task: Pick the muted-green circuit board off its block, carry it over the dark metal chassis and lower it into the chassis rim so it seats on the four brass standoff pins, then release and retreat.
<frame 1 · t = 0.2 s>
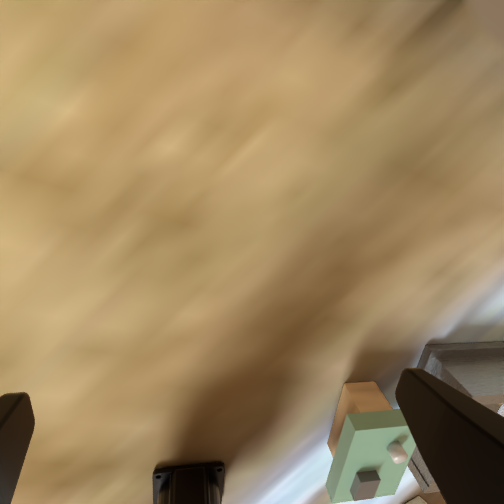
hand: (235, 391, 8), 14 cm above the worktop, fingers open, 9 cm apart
chassis: (451, 397, 33), on the worktop
block: (349, 413, 32), on the worktop
board: (367, 448, 28), point 3 cm above the worktop, touching block
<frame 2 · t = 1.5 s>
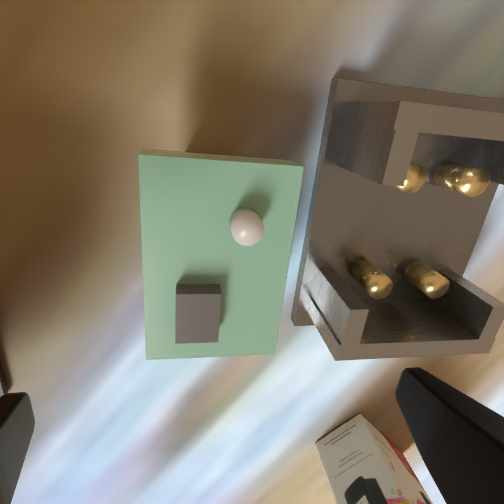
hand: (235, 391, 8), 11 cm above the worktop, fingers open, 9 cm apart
chassis: (394, 220, 20), on the worktop
ink box: (359, 446, 29), on the worktop
board: (215, 256, 15), point 3 cm above the worktop, touching block
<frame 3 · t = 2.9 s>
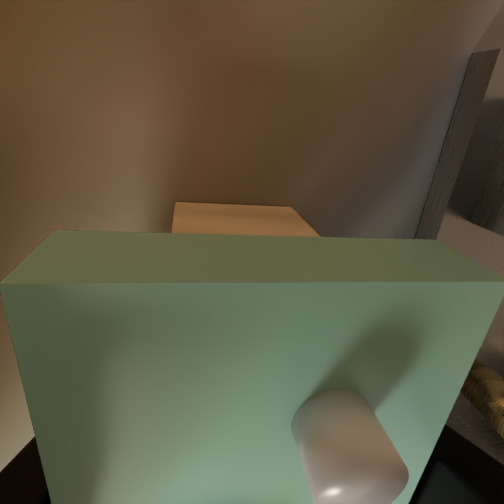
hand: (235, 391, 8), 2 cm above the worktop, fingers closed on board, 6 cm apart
block: (225, 331, 10), on the worktop
board: (242, 435, 7), point 3 cm above the worktop, touching gripper, block
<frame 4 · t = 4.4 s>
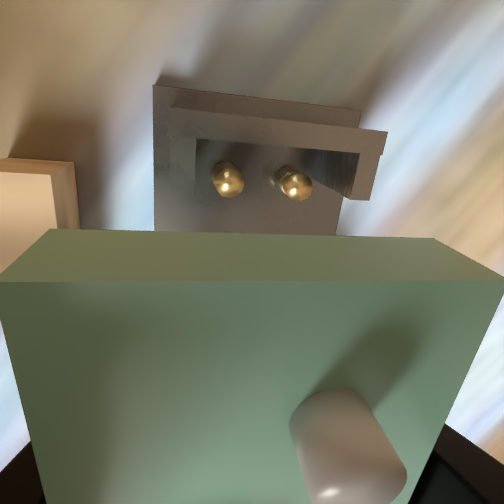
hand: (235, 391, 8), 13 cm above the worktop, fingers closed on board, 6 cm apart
chassis: (248, 223, 20), on the worktop
block: (51, 234, 18), on the worktop
board: (240, 435, 7), point 14 cm above the worktop, touching gripper
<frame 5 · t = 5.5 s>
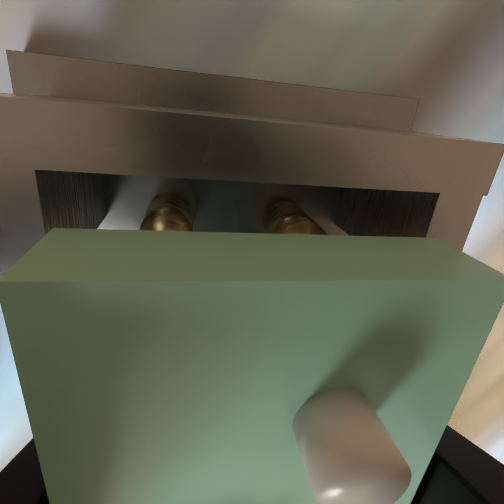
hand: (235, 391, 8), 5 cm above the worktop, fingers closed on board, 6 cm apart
chassis: (220, 289, 12), on the worktop
board: (243, 435, 7), point 6 cm above the worktop, touching gripper
when the fingers open (3 cm above the worktop, at t = 6.3 s): board stays where it is, resting on chassis.
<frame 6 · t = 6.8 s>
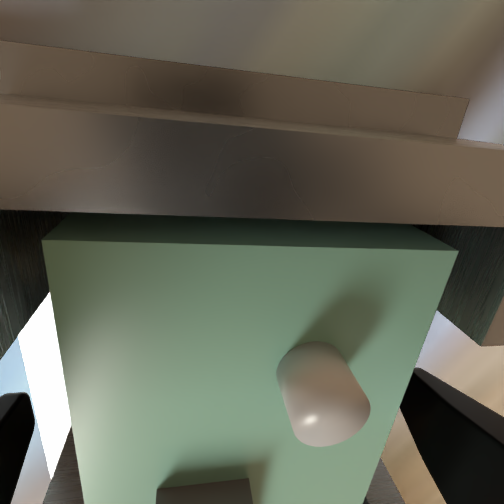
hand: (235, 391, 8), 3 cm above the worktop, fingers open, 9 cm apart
chassis: (225, 322, 10), on the worktop
board: (236, 397, 8), point 3 cm above the worktop, touching chassis
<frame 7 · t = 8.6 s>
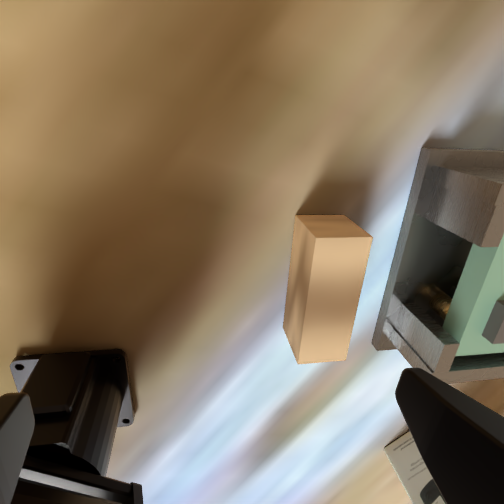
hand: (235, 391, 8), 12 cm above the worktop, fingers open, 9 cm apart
chassis: (466, 256, 23), on the worktop
ink box: (421, 449, 32), on the worktop
block: (311, 274, 21), on the worktop
board: (503, 277, 20), point 3 cm above the worktop, touching chassis
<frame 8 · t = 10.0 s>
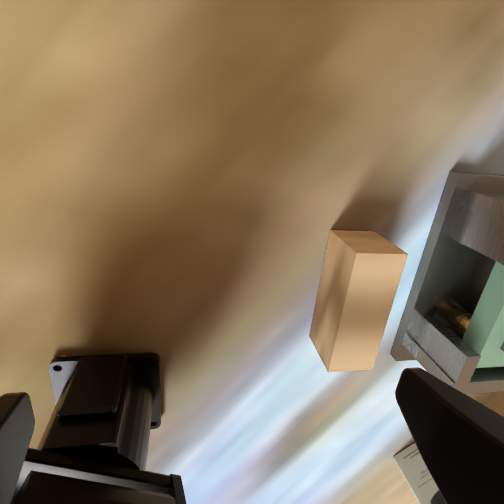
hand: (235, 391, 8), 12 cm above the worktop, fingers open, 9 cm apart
chassis: (483, 273, 24), on the worktop
ink box: (428, 458, 33), on the worktop
block: (340, 286, 22), on the worktop
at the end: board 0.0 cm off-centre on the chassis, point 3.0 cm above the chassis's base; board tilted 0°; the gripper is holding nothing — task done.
